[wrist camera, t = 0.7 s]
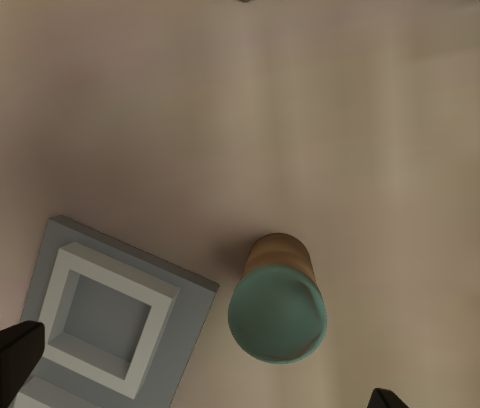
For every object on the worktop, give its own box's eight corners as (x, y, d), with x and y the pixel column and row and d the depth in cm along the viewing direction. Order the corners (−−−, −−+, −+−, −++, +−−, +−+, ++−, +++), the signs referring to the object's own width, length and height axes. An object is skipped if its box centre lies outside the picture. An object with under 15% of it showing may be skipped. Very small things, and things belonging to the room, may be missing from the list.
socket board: (219, 284, 21) (210, 303, 18) (130, 501, 25) (112, 542, 22) (60, 215, 22) (30, 223, 19) (-2, 436, 26) (-34, 468, 23)
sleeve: (323, 247, 20) (343, 297, 13) (296, 304, 21) (302, 379, 14) (261, 221, 20) (249, 256, 13) (236, 278, 21) (214, 339, 14)
